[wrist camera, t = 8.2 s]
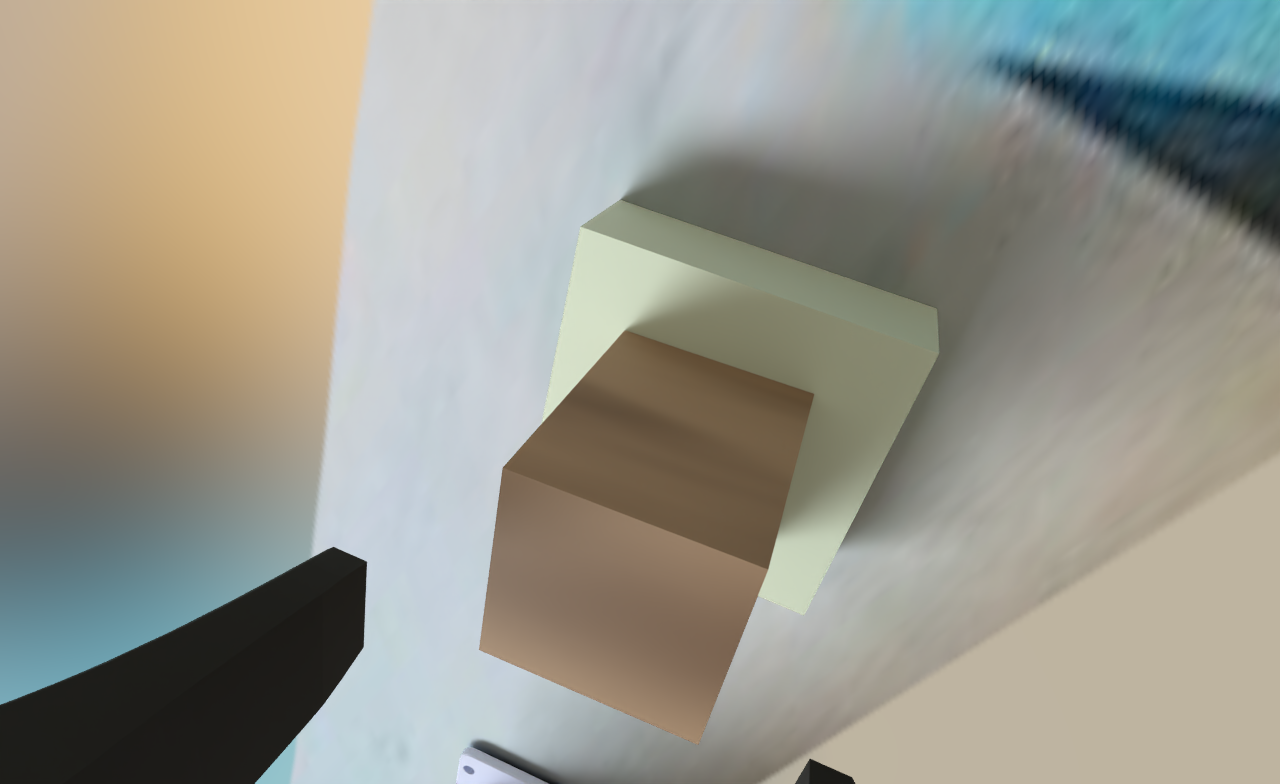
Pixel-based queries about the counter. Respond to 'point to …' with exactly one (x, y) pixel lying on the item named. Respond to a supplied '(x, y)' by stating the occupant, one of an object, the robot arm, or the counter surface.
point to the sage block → (759, 356)
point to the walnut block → (643, 530)
